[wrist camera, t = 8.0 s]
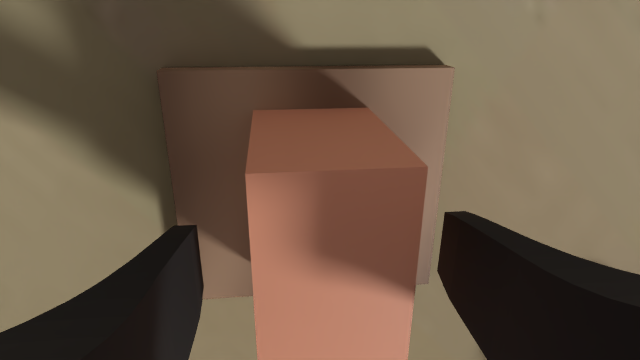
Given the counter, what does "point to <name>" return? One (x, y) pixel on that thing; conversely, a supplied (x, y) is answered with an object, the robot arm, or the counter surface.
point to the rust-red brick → (332, 234)
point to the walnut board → (279, 94)
